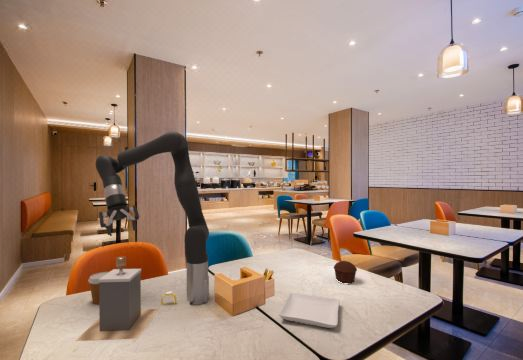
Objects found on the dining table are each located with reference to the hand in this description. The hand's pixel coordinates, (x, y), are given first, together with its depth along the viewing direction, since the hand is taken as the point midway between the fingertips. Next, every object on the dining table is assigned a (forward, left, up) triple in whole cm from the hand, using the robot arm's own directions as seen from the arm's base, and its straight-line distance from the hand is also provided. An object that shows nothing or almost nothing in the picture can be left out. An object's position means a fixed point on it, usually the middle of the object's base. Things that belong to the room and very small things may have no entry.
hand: (122, 232), depth 107 cm
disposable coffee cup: (+13, -8, -32) cm, 35 cm away
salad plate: (-75, +7, -32) cm, 82 cm away
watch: (-17, -3, -32) cm, 37 cm away
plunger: (-4, +11, -28) cm, 30 cm away
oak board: (-4, +11, -32) cm, 34 cm away
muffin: (-101, -25, -32) cm, 109 cm away
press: (-4, +11, -31) cm, 33 cm away
